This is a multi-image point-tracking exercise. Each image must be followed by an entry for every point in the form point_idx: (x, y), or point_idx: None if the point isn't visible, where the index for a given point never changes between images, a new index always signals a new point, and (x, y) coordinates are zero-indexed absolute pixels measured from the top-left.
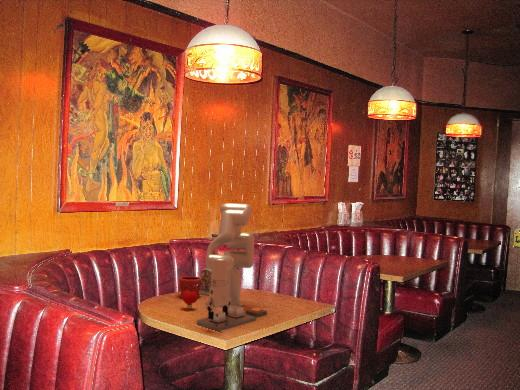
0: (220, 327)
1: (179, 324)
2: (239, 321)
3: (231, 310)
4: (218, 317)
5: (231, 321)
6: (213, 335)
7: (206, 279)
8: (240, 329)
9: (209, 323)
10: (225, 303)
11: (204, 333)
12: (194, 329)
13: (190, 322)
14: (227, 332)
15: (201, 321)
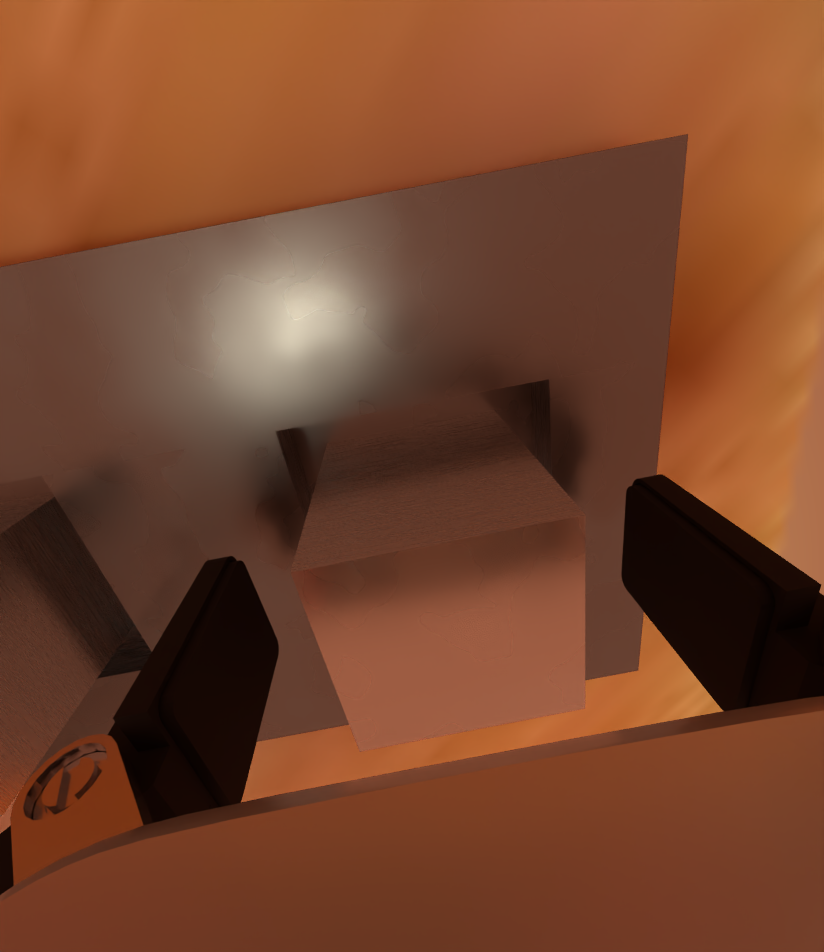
0: (667, 139)
1: (704, 703)
2: (25, 292)
3: (6, 718)
4: (535, 473)
5: (210, 389)
6: (815, 88)
7: None
8: (148, 93)
9: (626, 487)
10: (227, 947)
11: (808, 295)
12: (742, 516)
13: (580, 712)
14: (496, 83)
15: (634, 614)
